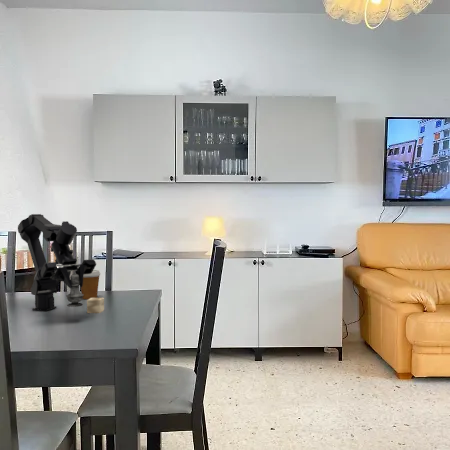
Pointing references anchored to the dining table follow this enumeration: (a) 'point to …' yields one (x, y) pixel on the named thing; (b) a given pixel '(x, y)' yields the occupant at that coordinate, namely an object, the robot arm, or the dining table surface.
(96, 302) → the maple block
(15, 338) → the dining table surface
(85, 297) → the disposable coffee cup
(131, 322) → the dining table surface
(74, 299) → the grey tall rounded piece
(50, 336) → the dining table surface
